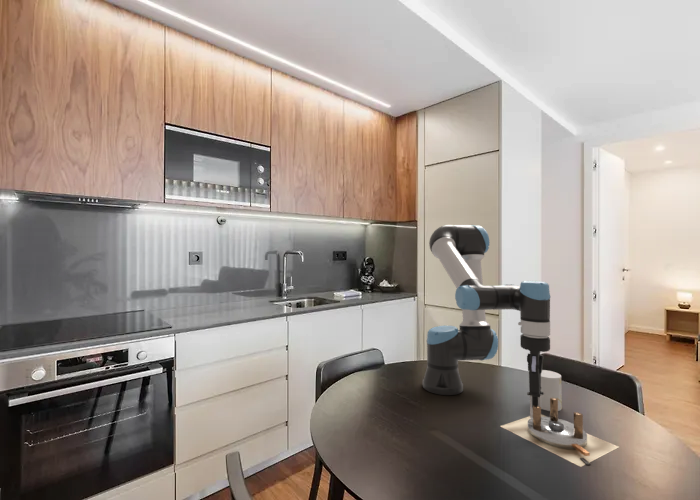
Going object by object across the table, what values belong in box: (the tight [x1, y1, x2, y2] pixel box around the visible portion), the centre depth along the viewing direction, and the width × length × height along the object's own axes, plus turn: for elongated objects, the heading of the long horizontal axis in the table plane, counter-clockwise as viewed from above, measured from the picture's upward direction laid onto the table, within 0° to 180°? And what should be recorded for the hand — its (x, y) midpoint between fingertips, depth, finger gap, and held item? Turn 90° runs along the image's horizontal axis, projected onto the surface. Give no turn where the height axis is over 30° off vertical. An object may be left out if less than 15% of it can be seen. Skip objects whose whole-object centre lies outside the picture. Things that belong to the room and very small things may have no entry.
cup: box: [541, 369, 563, 412], centre depth 114 cm, size 8×8×12 cm
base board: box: [499, 413, 620, 468], centre depth 94 cm, size 23×18×2 cm
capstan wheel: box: [528, 398, 590, 456], centre depth 92 cm, size 14×18×8 cm
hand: (535, 417), depth 98 cm, fingers closed
